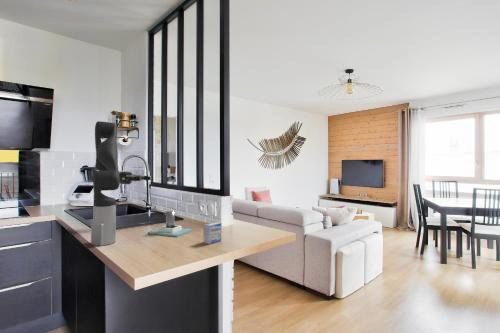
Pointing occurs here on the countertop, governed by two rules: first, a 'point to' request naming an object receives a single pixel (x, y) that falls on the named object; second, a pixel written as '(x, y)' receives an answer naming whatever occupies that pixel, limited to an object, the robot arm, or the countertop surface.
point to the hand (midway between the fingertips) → (145, 178)
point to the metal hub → (170, 219)
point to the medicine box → (212, 233)
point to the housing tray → (170, 231)
